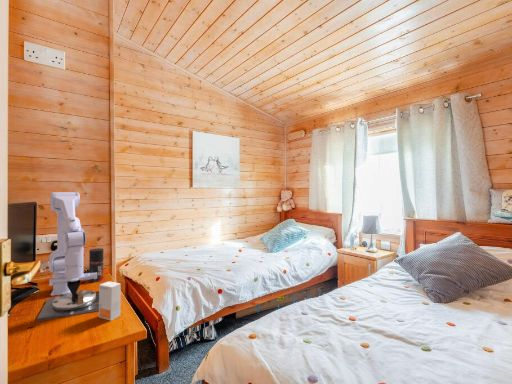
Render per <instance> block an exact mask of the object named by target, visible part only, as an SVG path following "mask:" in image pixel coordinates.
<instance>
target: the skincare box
mask: <svg viewBox="0 0 512 384" xmlns="http://www.w3.org/2000/svg"><path fill="white" fill-rule="evenodd" d="M121 285H122V283H119V282H114V281H108V280H107V281H106V282H103V283H100V284H98V291H99V311H98V318H99V319H102V320H108V321H111V322H112V321H113V320H115V319H117V318H119V317H121V295H122V294H121V293H122V291H121V289H122V288H121V287H122V286H121Z"/></svg>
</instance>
